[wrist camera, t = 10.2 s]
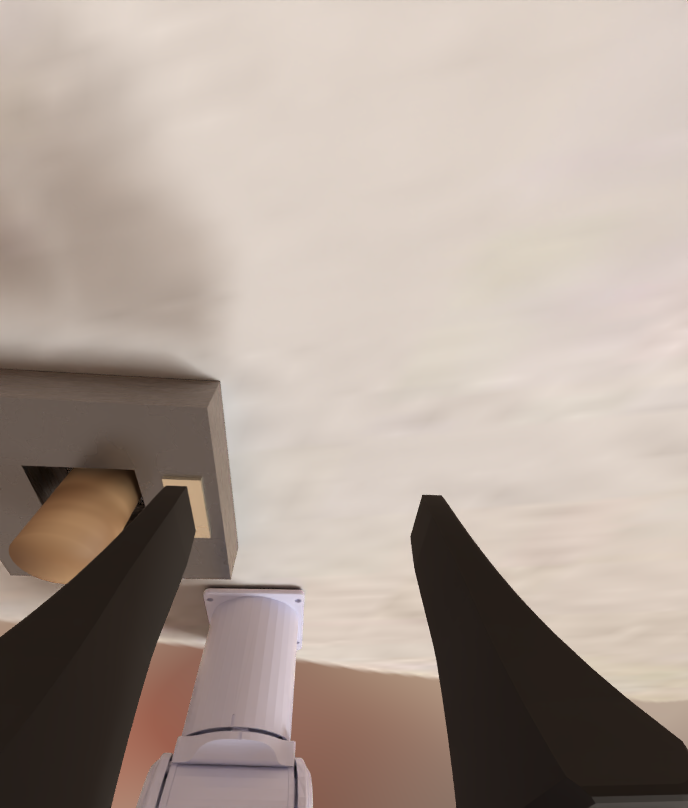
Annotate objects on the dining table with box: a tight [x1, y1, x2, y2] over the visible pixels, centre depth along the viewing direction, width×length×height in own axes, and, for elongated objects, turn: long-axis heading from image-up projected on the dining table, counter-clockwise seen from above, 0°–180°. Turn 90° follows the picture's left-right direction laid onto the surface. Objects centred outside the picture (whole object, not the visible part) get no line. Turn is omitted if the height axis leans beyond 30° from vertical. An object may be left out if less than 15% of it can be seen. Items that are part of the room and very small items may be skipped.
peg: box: [9, 468, 142, 584], centre depth 21 cm, size 4×4×6 cm
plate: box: [0, 369, 238, 579], centre depth 22 cm, size 14×14×3 cm
